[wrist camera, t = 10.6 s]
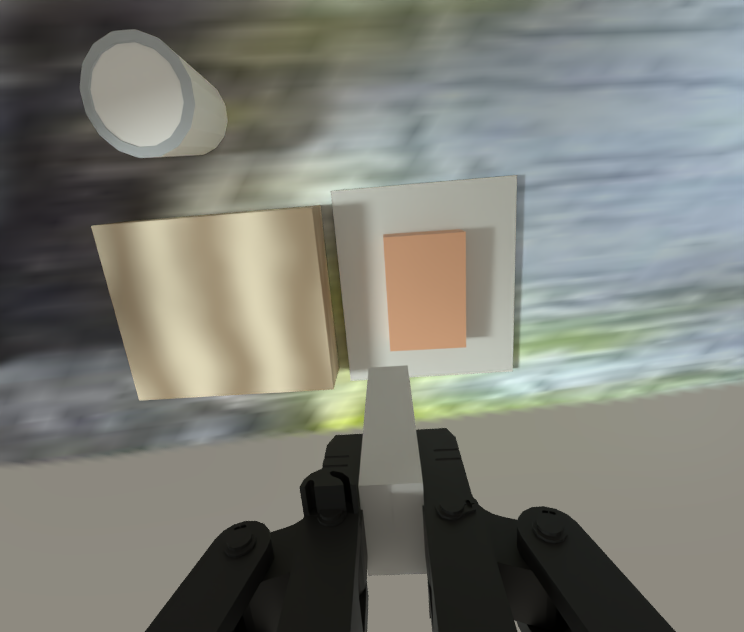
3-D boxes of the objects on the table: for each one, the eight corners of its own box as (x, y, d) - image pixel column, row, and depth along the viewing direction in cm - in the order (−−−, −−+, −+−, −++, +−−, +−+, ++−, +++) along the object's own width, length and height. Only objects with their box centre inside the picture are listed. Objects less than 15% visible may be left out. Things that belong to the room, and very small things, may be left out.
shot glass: (146, 158, 32) (82, 150, 25) (143, 57, 30) (72, 19, 23) (234, 170, 32) (194, 165, 25) (237, 70, 30) (194, 36, 23)
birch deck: (164, 378, 37) (139, 400, 34) (124, 221, 33) (90, 225, 29) (339, 368, 36) (333, 389, 33) (320, 205, 32) (311, 207, 29)
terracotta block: (466, 347, 32) (461, 337, 35) (465, 231, 30) (460, 229, 32) (390, 351, 33) (390, 341, 35) (383, 237, 30) (383, 234, 32)
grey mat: (351, 377, 37) (350, 380, 36) (331, 190, 32) (330, 191, 31) (510, 368, 36) (512, 371, 35) (514, 175, 31) (517, 175, 31)
